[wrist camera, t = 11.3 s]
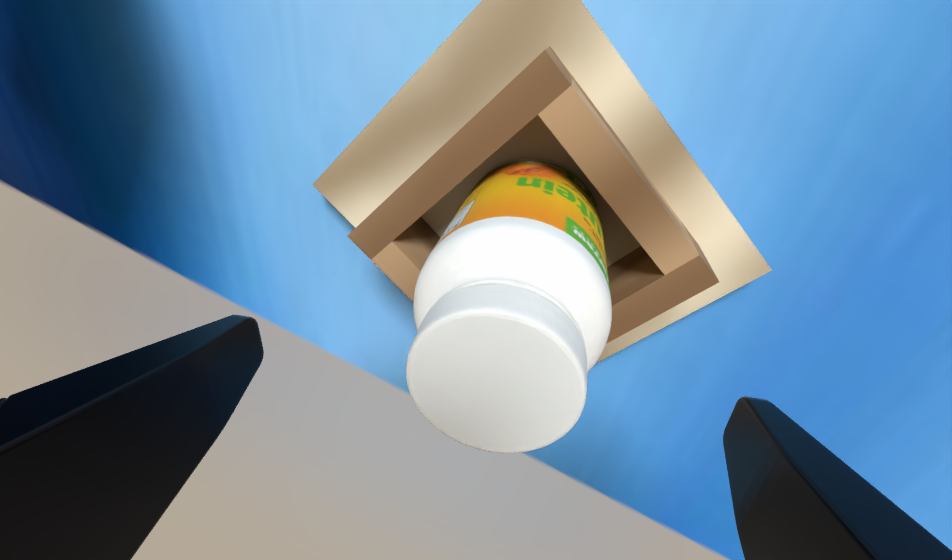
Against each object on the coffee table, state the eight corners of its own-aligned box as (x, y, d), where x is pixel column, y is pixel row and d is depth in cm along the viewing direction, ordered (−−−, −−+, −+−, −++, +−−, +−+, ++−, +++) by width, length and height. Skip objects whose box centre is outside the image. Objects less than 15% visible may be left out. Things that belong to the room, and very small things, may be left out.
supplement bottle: (631, 206, 17) (683, 376, 9) (548, 305, 20) (528, 507, 12) (510, 126, 17) (443, 226, 8) (441, 238, 19) (339, 400, 11)
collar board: (325, 176, 20) (271, 208, 17) (540, -55, 15) (529, -81, 11) (527, 384, 24) (518, 448, 20) (761, 256, 18) (806, 312, 15)
